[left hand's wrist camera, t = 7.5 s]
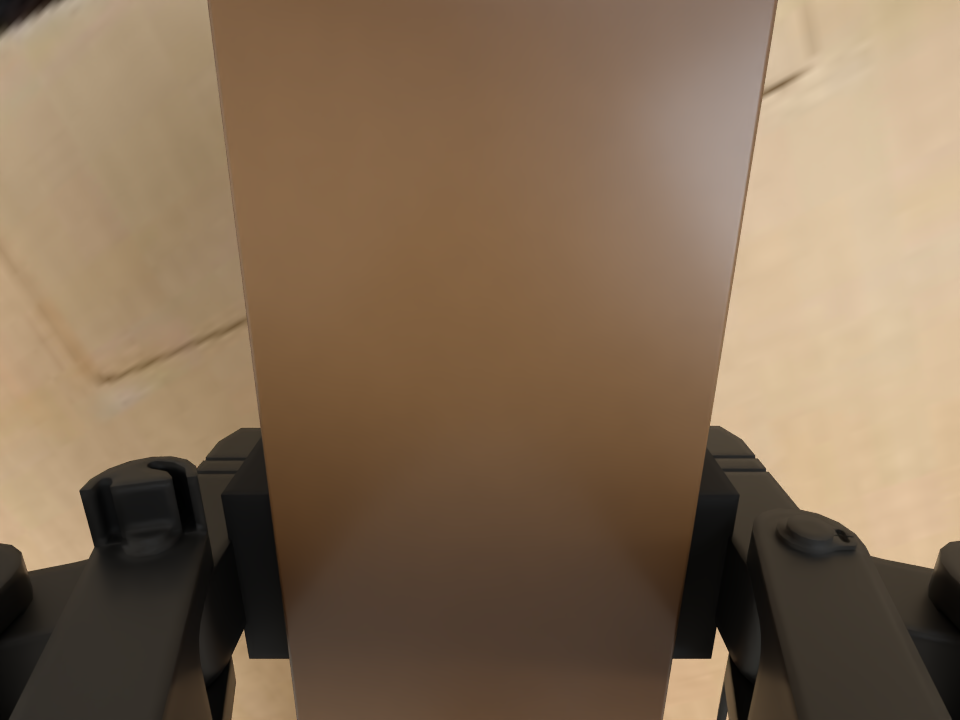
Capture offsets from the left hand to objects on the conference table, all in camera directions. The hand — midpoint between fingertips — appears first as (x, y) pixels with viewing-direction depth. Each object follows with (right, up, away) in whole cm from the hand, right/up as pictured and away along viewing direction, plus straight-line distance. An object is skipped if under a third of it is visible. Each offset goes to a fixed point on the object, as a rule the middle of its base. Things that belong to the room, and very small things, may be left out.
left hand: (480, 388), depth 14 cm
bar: (0, -19, +8) cm, 20 cm away
